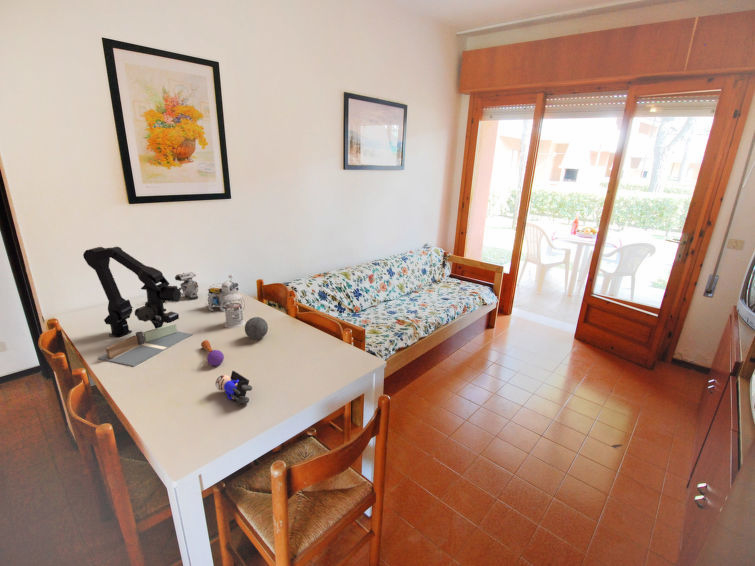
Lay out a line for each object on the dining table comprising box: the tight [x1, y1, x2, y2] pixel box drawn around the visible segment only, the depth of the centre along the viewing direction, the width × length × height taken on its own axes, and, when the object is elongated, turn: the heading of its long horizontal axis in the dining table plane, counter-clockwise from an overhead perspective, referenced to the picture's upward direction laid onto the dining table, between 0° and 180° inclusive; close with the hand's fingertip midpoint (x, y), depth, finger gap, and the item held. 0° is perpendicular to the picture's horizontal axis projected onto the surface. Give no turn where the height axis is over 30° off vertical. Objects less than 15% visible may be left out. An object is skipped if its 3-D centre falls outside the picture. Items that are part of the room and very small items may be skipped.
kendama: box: [200, 339, 225, 367], centre depth 148 cm, size 6×6×20 cm
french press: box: [224, 274, 247, 329], centre depth 178 cm, size 10×12×25 cm
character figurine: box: [215, 370, 253, 404], centre depth 123 cm, size 8×7×15 cm
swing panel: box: [142, 322, 178, 342], centre depth 162 cm, size 2×13×4 cm, turn 143°
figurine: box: [174, 271, 199, 301], centre depth 210 cm, size 9×12×15 cm
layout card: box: [97, 330, 193, 368], centre depth 156 cm, size 18×30×1 cm, turn 164°
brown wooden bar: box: [105, 331, 144, 359], centre depth 150 cm, size 3×16×5 cm, turn 164°
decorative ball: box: [244, 316, 269, 340], centre depth 165 cm, size 10×10×10 cm
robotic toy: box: [205, 280, 239, 312], centre depth 198 cm, size 13×17×15 cm
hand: (158, 331), depth 164 cm, fingers closed
